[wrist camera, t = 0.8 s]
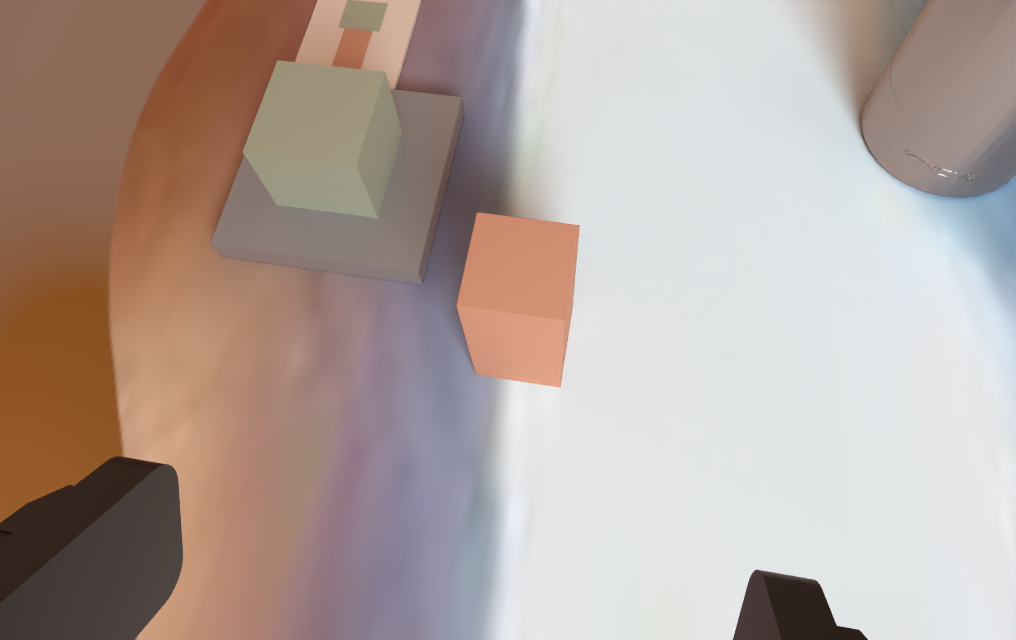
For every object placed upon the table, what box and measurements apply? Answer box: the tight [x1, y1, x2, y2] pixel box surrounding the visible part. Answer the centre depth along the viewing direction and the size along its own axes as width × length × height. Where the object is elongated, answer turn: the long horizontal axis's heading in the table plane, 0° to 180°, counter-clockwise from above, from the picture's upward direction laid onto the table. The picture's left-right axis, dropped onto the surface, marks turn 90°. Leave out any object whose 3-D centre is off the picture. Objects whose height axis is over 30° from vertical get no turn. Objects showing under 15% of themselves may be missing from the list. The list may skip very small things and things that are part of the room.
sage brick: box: [243, 60, 403, 218], centre depth 39 cm, size 6×6×5 cm
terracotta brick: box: [456, 212, 580, 387], centre depth 34 cm, size 4×4×9 cm
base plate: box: [210, 89, 465, 285], centre depth 42 cm, size 12×12×2 cm
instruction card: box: [295, 0, 422, 90], centre depth 47 cm, size 10×7×1 cm
